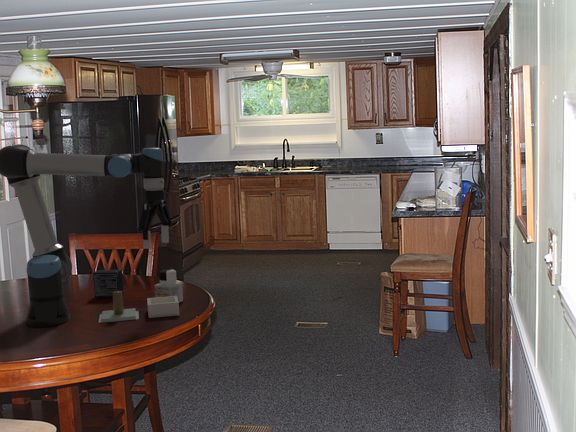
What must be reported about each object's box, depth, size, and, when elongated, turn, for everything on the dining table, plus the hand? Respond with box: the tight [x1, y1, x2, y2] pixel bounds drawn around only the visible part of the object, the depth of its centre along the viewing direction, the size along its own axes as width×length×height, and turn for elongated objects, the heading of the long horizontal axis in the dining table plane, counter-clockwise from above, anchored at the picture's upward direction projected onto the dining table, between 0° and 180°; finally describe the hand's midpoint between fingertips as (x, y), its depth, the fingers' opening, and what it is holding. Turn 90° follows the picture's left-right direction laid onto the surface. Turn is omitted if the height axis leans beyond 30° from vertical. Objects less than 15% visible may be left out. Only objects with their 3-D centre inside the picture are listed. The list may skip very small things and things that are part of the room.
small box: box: [92, 269, 125, 299], centre depth 317 cm, size 11×6×10 cm, turn 84°
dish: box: [146, 296, 180, 319], centre depth 284 cm, size 11×11×5 cm
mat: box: [98, 310, 140, 324], centre depth 282 cm, size 14×12×1 cm
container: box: [154, 268, 184, 304], centre depth 300 cm, size 8×8×13 cm
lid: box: [101, 291, 137, 323], centre depth 281 cm, size 12×12×9 cm
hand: (156, 245), depth 292 cm, fingers open, 13 cm apart
